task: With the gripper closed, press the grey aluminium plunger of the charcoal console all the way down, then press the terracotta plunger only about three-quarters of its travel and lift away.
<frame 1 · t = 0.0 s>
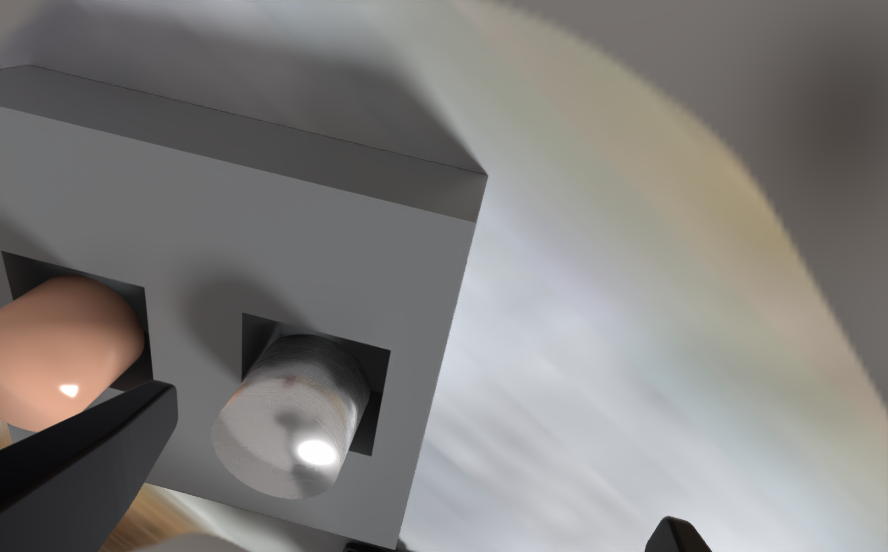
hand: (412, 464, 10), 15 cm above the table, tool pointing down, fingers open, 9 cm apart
grey plunger: (296, 414, 21), point 6 cm above the table, slide at 0.0 cm
terracotta plunger: (55, 350, 21), point 6 cm above the table, slide at 0.0 cm
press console: (251, 298, 27), on the table
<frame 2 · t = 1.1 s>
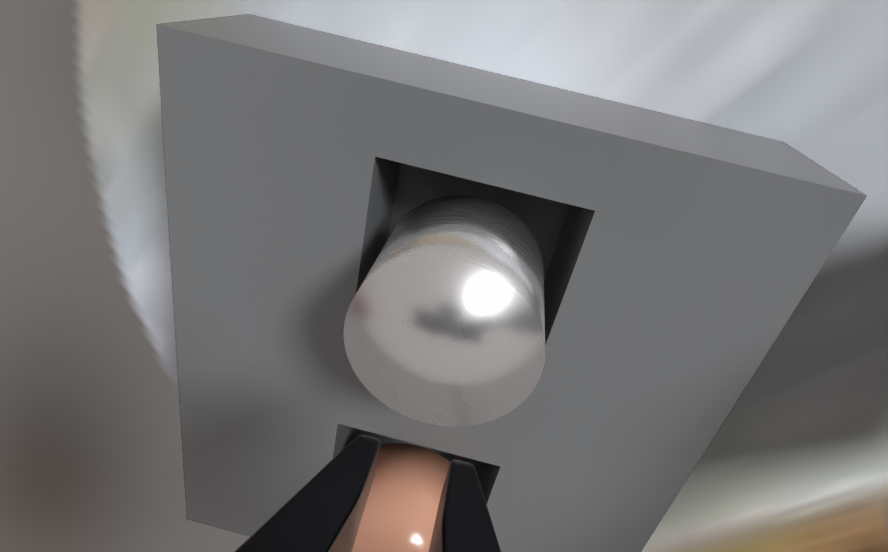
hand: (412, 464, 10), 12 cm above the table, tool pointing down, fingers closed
grey plunger: (453, 305, 14), point 6 cm above the table, slide at 0.0 cm
terracotta plunger: (396, 533, 19), point 6 cm above the table, slide at 0.0 cm
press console: (449, 322, 23), on the table
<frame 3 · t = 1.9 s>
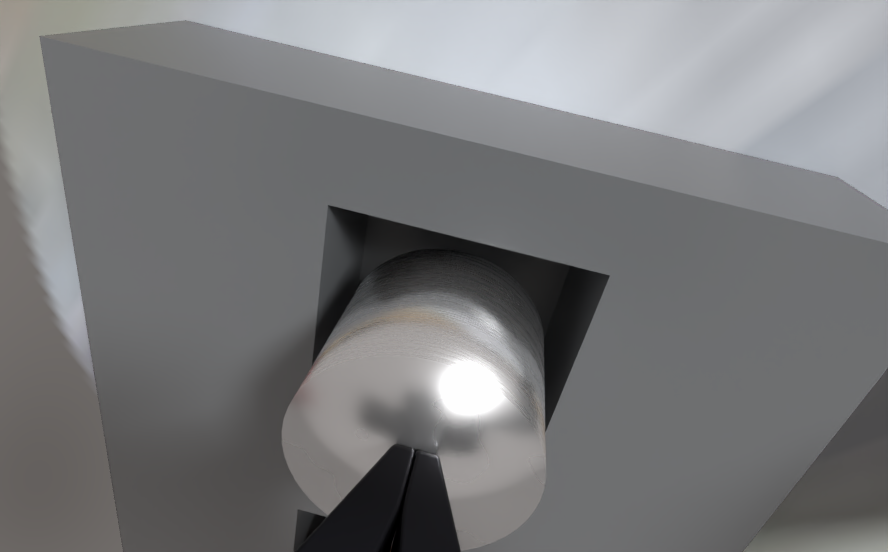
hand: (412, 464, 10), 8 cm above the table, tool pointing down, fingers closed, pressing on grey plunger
grey plunger: (429, 391, 11), point 6 cm above the table, slide at 0.1 cm, touching gripper
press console: (434, 377, 19), on the table
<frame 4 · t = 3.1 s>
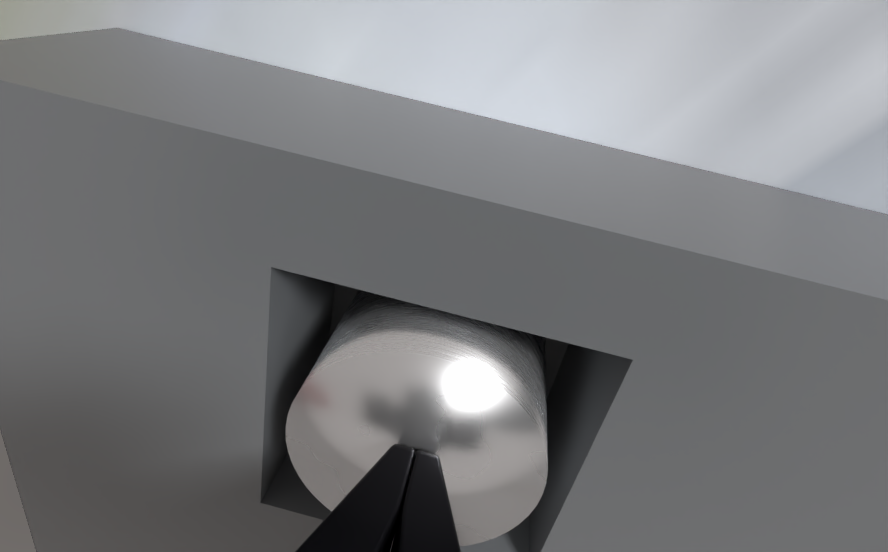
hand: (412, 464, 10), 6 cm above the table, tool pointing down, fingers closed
grey plunger: (431, 388, 12), point 3 cm above the table, slide at 3.0 cm
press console: (420, 435, 17), on the table
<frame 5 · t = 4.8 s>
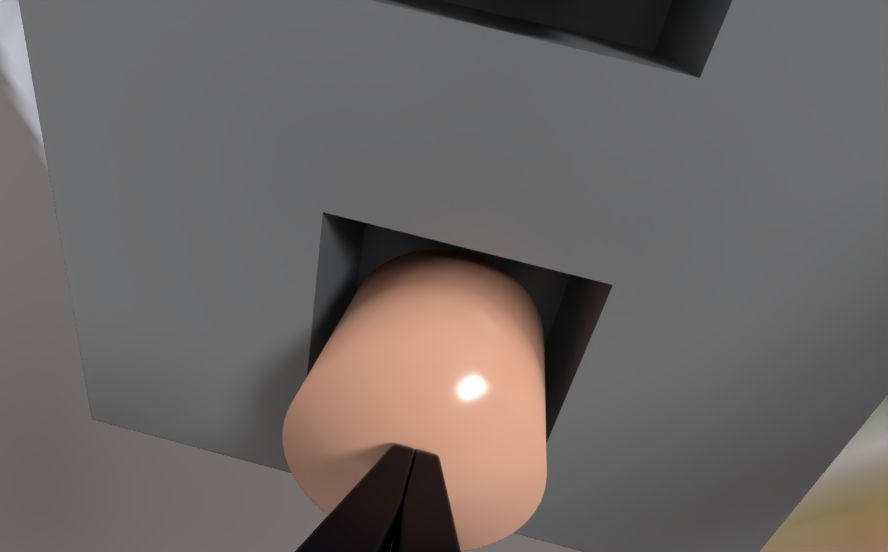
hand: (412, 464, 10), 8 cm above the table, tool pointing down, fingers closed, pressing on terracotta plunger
terracotta plunger: (430, 392, 11), point 6 cm above the table, slide at 0.5 cm, touching gripper
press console: (504, 100, 14), on the table
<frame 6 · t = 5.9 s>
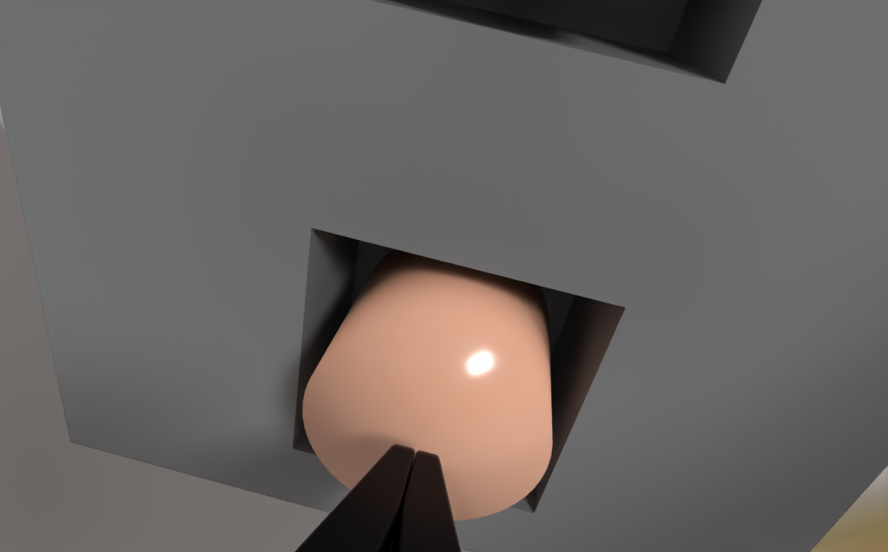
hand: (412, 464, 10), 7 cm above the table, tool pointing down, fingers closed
terracotta plunger: (440, 370, 12), point 4 cm above the table, slide at 2.1 cm
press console: (507, 105, 13), on the table
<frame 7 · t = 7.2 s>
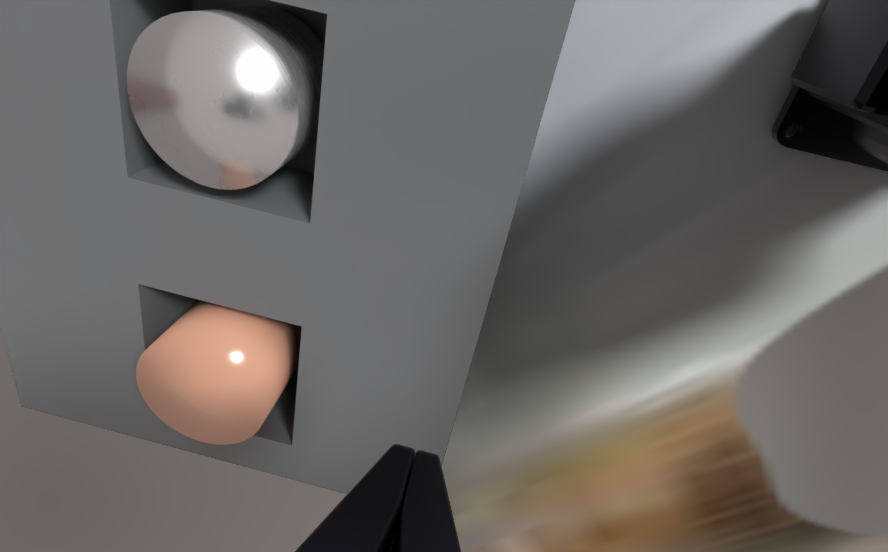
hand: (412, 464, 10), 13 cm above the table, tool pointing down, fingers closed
grey plunger: (242, 94, 17), point 3 cm above the table, slide at 3.0 cm
terracotta plunger: (228, 360, 21), point 4 cm above the table, slide at 2.1 cm
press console: (281, 202, 22), on the table
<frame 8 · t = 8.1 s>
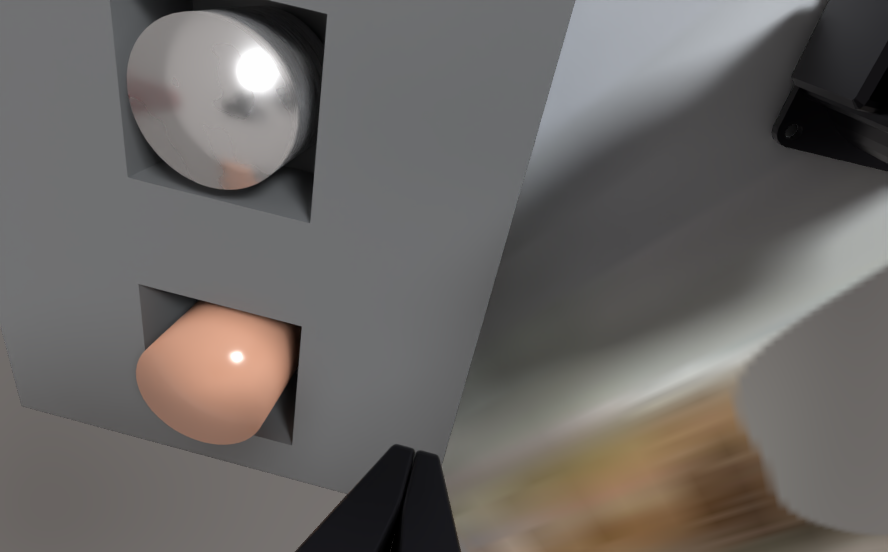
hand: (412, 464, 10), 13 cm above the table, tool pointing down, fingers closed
grey plunger: (242, 94, 17), point 3 cm above the table, slide at 3.0 cm
terracotta plunger: (228, 360, 21), point 4 cm above the table, slide at 2.1 cm
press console: (281, 202, 22), on the table
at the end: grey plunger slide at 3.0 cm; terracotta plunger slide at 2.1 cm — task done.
